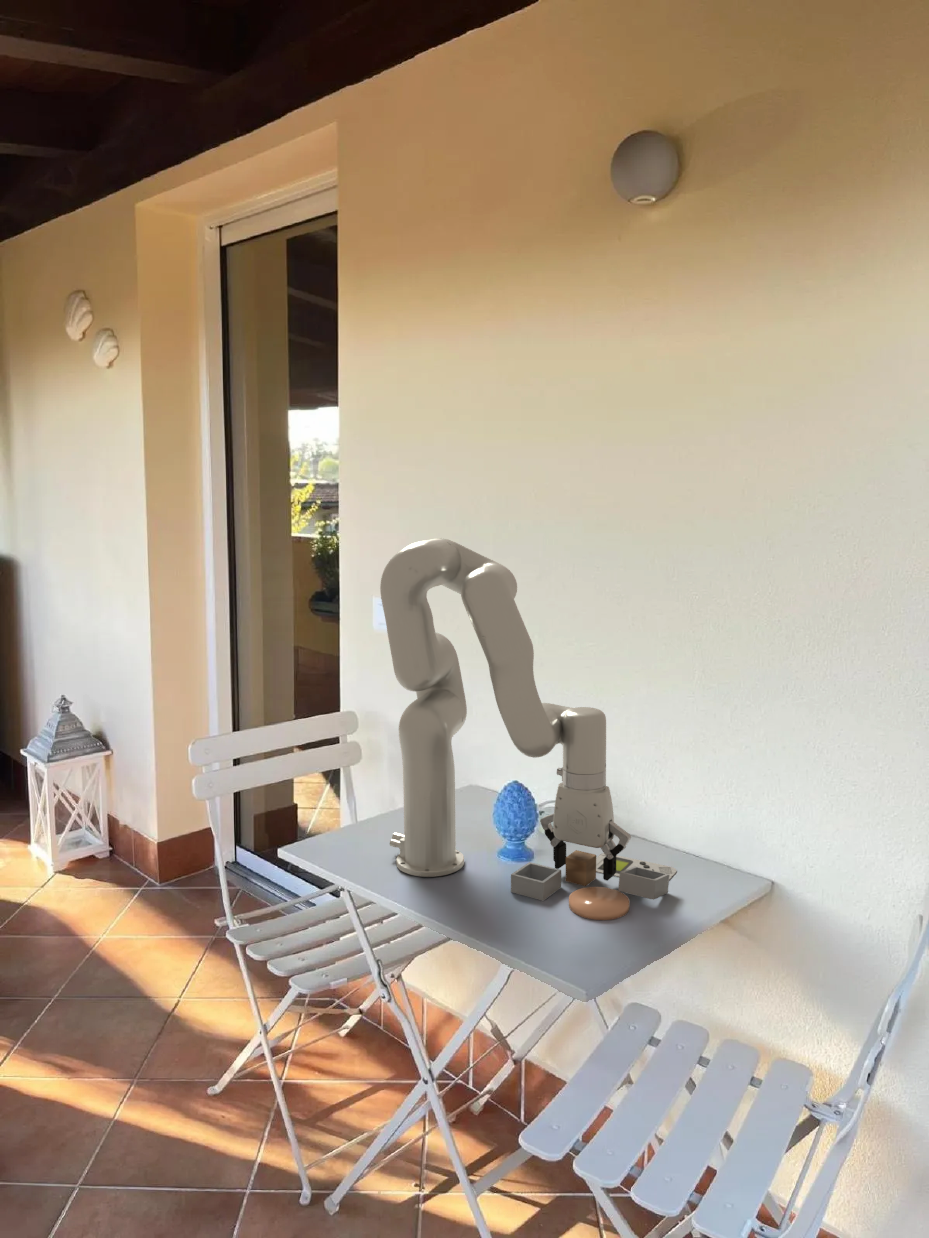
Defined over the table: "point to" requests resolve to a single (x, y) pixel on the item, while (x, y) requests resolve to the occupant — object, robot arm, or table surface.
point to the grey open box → (536, 881)
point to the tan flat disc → (599, 903)
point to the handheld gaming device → (627, 863)
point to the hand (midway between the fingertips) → (584, 871)
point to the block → (580, 868)
